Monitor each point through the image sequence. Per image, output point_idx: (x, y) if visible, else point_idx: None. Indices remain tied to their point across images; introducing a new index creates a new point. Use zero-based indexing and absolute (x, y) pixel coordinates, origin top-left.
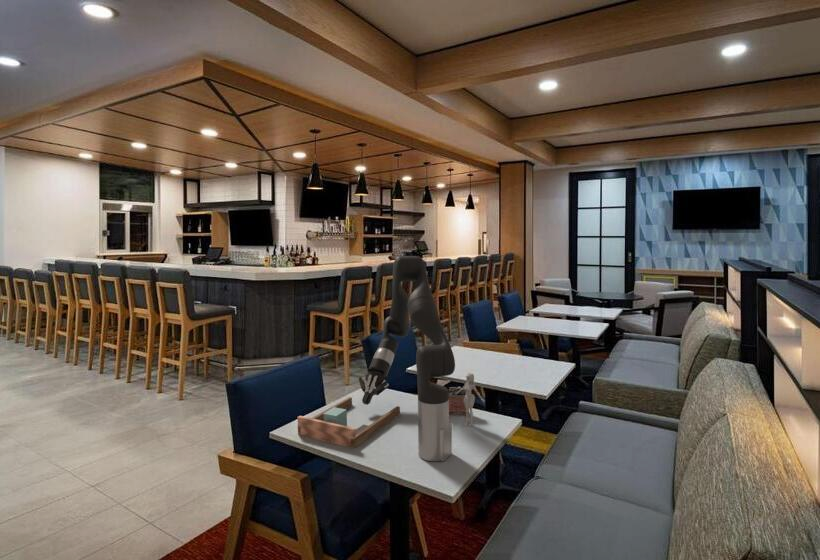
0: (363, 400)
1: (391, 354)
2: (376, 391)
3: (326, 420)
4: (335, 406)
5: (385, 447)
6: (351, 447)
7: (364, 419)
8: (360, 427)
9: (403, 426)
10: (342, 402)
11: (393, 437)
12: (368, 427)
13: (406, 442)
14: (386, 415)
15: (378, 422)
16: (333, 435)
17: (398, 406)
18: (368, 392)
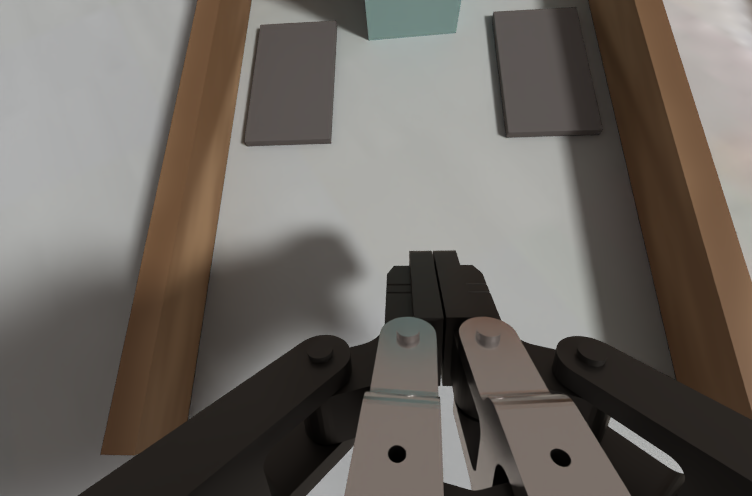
0: (448, 256)
1: None
2: (290, 357)
3: None
4: (688, 171)
5: (105, 10)
6: None
7: (380, 226)
8: (323, 99)
9: (74, 248)
10: (722, 283)
11: (96, 101)
12: (204, 6)
13: (15, 87)
14: (159, 207)
15: (181, 99)
16: None
17: (115, 452)
18: (457, 362)
